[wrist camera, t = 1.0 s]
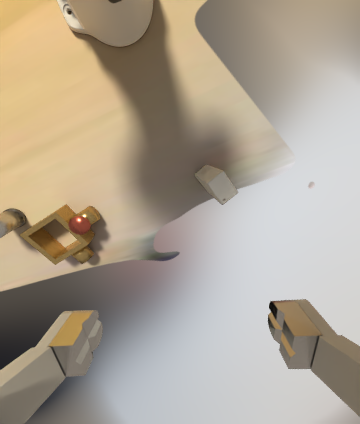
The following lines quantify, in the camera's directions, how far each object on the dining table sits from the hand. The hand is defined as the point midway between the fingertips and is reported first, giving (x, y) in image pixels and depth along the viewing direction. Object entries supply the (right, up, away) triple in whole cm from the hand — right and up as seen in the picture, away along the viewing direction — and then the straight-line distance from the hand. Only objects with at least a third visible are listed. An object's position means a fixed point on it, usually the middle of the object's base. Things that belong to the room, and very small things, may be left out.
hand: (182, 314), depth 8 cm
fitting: (-27, 0, +37) cm, 46 cm away
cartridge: (-41, +4, +34) cm, 53 cm away
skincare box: (+7, +14, +37) cm, 40 cm away
